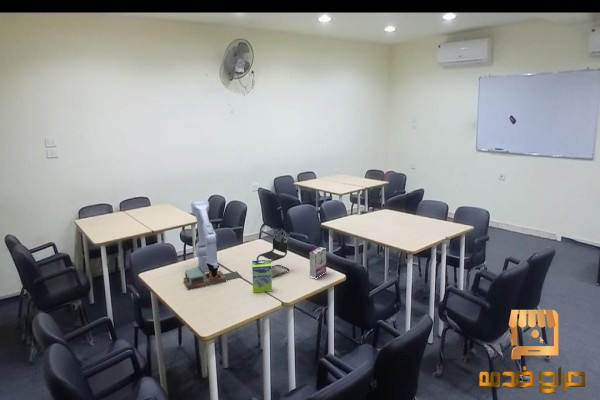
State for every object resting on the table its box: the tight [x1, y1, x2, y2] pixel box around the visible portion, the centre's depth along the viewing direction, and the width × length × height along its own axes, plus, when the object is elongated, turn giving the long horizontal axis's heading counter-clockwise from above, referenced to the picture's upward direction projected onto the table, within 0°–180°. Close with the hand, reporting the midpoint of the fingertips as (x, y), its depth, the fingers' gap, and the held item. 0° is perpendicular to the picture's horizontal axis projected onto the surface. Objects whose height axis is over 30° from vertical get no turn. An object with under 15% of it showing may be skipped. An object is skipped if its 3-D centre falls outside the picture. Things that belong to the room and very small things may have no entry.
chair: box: [256, 232, 291, 278], centre depth 239 cm, size 13×17×22 cm
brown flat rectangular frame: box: [183, 270, 227, 291], centre depth 228 cm, size 12×22×2 cm, turn 118°
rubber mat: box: [223, 270, 242, 281], centre depth 236 cm, size 9×9×1 cm
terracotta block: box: [208, 271, 218, 280], centre depth 230 cm, size 4×4×6 cm
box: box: [251, 259, 273, 293], centre depth 215 cm, size 10×4×17 cm, turn 100°
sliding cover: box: [184, 264, 206, 285], centre depth 225 cm, size 12×9×6 cm
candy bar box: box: [309, 246, 327, 278], centre depth 234 cm, size 11×5×16 cm, turn 143°
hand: (213, 275), depth 230 cm, fingers closed on terracotta block, 4 cm apart
